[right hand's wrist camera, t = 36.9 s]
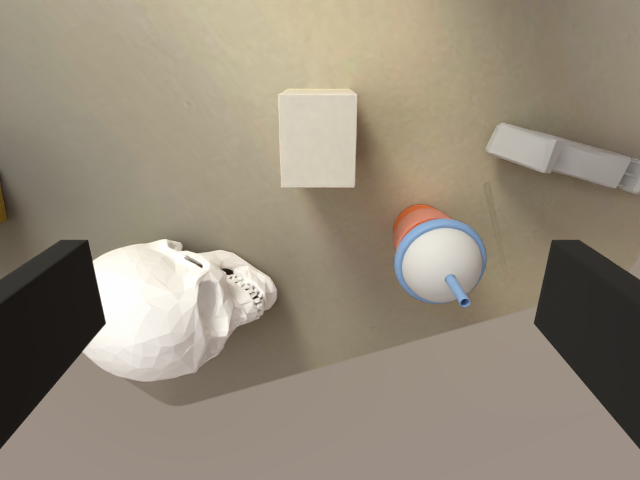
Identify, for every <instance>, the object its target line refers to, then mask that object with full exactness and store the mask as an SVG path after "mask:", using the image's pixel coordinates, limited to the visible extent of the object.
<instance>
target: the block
mask: <svg viewBox="0 0 640 480" xmlns="http://www.w3.org/2000/svg"><path fill="white" fill-rule="evenodd" d="M278 108H279V137H280V165H281V187H282V188H355V172H356V140H357V108H358V94H356V93H355V92H353V91H351V90H350V89H287V90H285V91H283V92H282V93H280V94H278Z"/></svg>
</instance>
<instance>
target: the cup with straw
mask: <svg viewBox="0 0 640 480" xmlns="http://www.w3.org/2000/svg"><path fill="white" fill-rule="evenodd" d="M393 232H394V247H395V253H396V254H395V259H394V269H395V274H396V277H397V280H398V282H399V284H400V285H401V287H402V288H403V289H404V290H405V291H406V292H407V293H408V294H409V295H411V296H412V297H414V298H415V299H417V300H420V301H422V302H426V303H433V304H441V303H448V302H452V301H455V300H457V301H458V302H459V304H460V305H461V306H462V307H468V306H469V305H470V299H469V298H468V296H467V295H466V294H468V293H469V292H470V291H471V290H472V289H473V288H474V287H475V286H476V285H477V284H478V282H479V281H480V279H481V278H482V276H483V273H484V271H485V267H486V250H485V246H484V244H483V241H482V240H481V238H480V236H479V235H478V234H477V233H476V231H475V230H473V229H472V228H471V227H470V226H468V225H466V224H465V223H463V222H460V221H457V220H453V219H452V218H450V217H449V216H447V215H446V214H445V213H443V212H441V211H439V210H436V209H435V208H433V207H431V206H428V205H422V204H420V205H414V206H411V207H408V208H407V209H405V210H404V211H402V212H401V213H400V214H399V216H398V217H397V219H396V221H395V223H394V229H393Z"/></svg>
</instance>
